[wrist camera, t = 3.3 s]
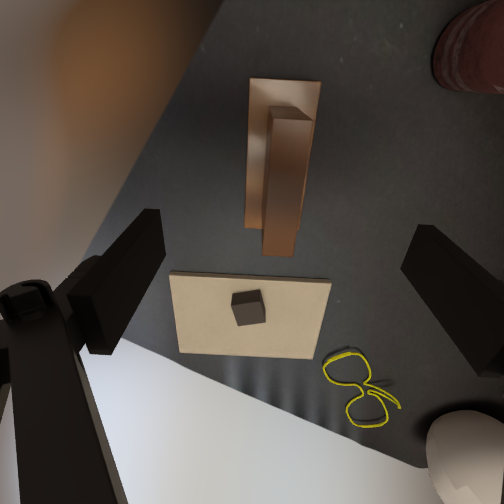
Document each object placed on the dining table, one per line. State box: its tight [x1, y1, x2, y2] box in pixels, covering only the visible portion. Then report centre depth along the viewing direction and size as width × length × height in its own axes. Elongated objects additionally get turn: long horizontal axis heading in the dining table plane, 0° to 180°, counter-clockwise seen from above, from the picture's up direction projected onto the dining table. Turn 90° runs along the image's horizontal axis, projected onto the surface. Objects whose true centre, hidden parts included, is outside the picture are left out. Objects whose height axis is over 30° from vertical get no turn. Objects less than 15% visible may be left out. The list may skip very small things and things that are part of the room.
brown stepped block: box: [244, 77, 322, 257], centre depth 25 cm, size 14×6×12 cm, turn 177°
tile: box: [169, 271, 332, 359], centre depth 42 cm, size 22×16×1 cm
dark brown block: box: [231, 289, 266, 326], centre depth 38 cm, size 4×4×2 cm
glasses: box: [323, 351, 401, 428], centre depth 49 cm, size 25×10×5 cm, turn 25°
